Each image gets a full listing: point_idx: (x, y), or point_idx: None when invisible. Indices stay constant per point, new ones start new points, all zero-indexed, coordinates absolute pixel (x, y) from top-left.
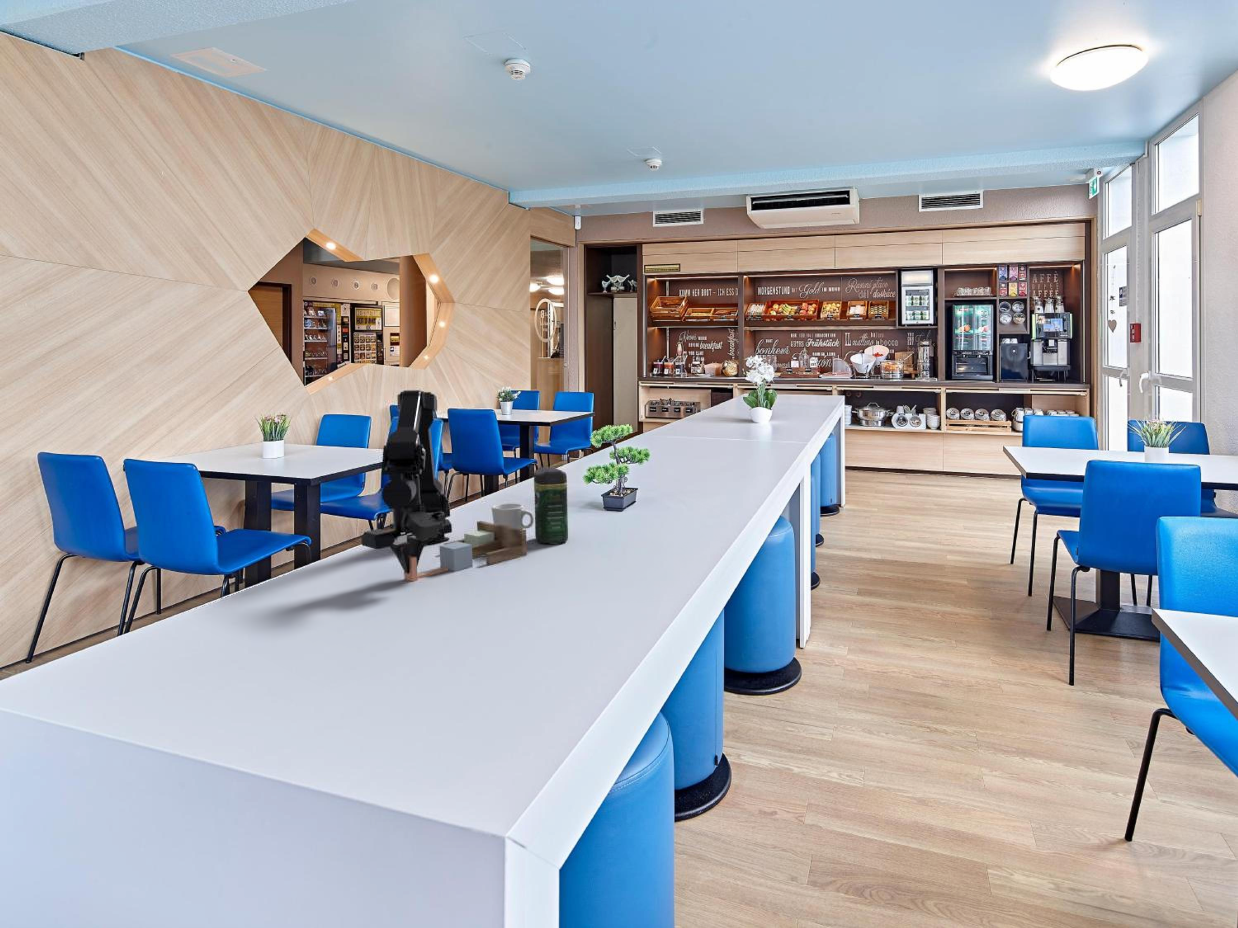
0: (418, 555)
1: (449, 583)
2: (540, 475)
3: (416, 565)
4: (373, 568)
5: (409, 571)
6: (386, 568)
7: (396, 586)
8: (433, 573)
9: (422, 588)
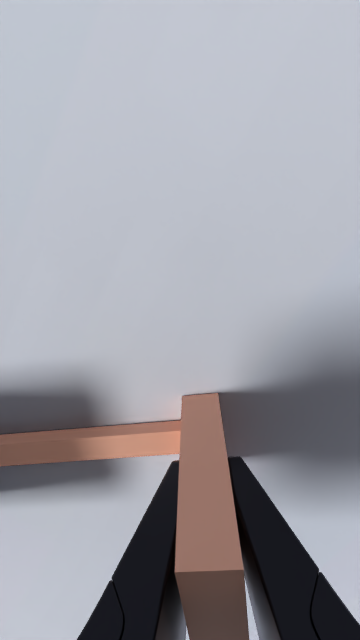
0: (135, 592)
1: (40, 164)
2: None
3: (182, 481)
4: None
5: (228, 464)
6: None
7: (349, 373)
8: (51, 433)
9: (268, 199)
